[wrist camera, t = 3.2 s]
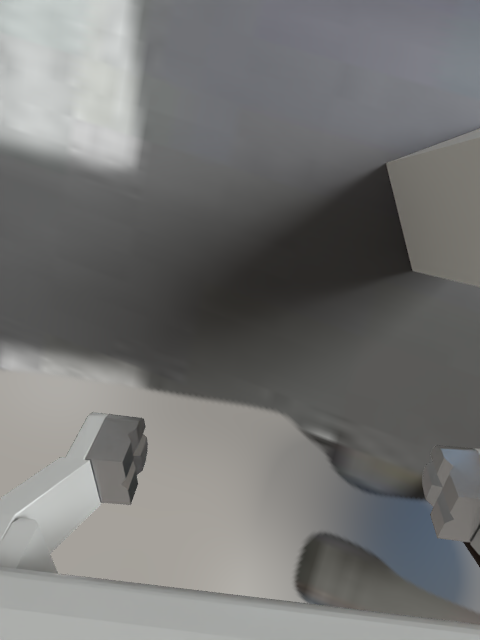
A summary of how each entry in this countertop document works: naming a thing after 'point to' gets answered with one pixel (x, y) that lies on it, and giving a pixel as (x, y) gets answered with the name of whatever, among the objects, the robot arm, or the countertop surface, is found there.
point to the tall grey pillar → (441, 207)
